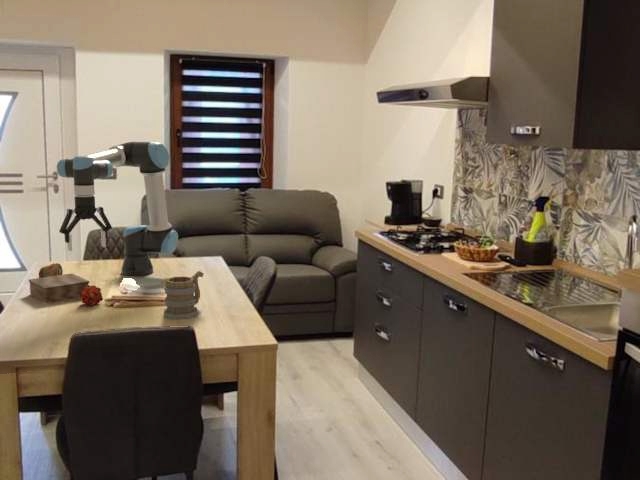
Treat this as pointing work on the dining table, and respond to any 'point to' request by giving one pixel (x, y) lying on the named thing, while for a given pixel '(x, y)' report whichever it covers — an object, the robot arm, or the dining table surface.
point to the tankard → (182, 296)
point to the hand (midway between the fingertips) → (87, 248)
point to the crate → (57, 287)
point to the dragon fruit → (91, 295)
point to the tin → (51, 270)
